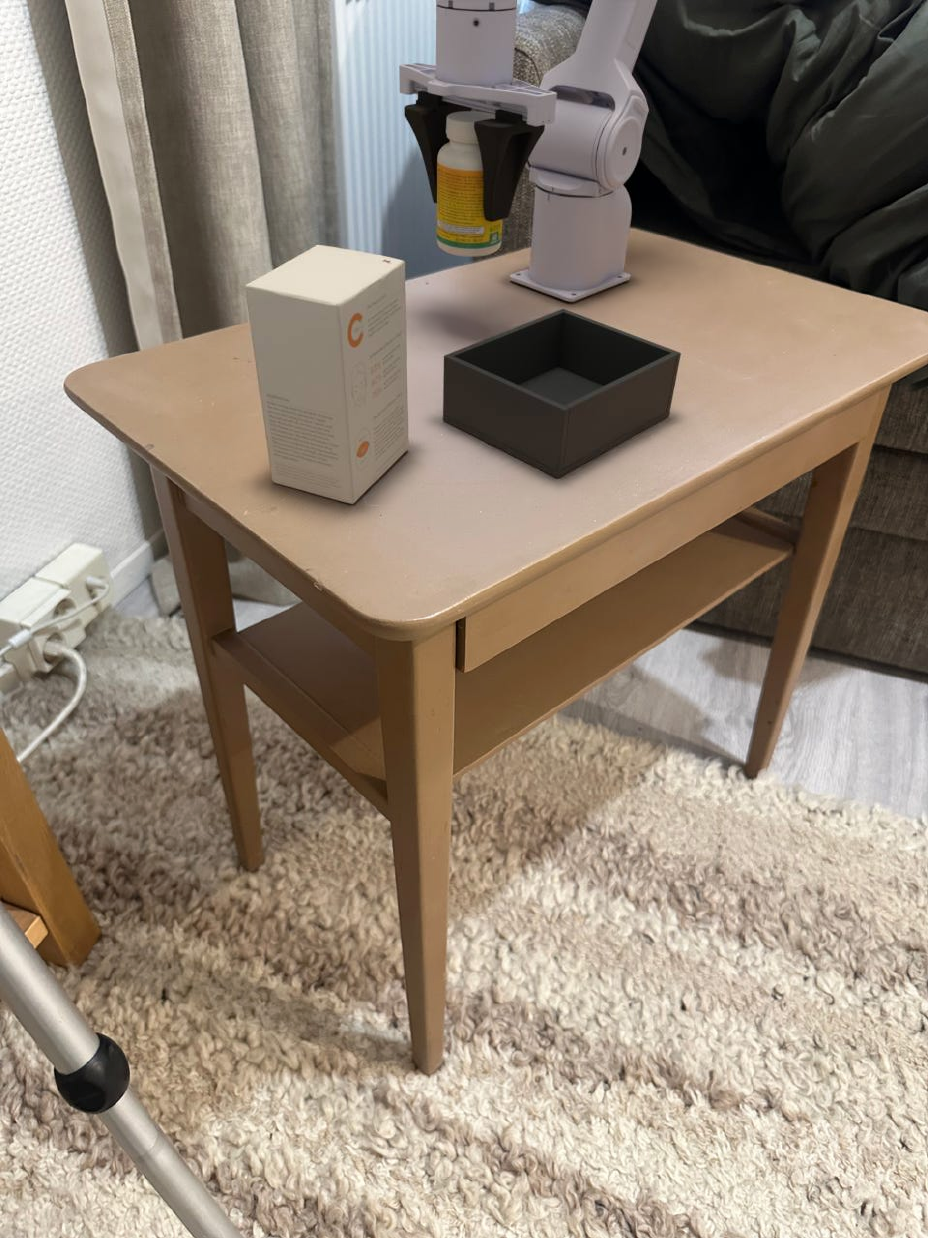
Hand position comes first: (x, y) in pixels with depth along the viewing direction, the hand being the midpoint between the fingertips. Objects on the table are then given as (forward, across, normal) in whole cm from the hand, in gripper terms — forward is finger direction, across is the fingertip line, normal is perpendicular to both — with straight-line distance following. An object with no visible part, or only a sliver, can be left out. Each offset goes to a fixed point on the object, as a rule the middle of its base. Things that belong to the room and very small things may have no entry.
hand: (470, 209), depth 72 cm
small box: (+10, +11, -22) cm, 27 cm away
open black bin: (+10, +16, -6) cm, 20 cm away
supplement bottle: (+3, 0, 0) cm, 3 cm away
